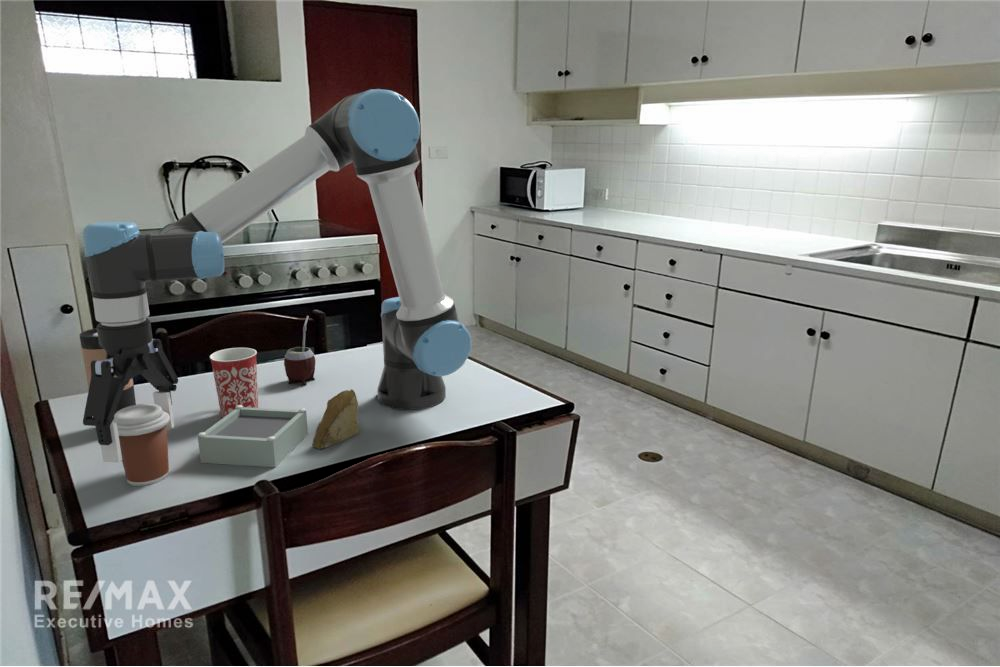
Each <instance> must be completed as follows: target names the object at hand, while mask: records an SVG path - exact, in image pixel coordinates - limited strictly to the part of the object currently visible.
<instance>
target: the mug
mask: <svg viewBox="0 0 1000 667" xmlns="http://www.w3.org/2000/svg"><path fill="white" fill-rule="evenodd" d="M257 355H258V352H257V350H256V349H254V348H250V347H231V348H224V349H220V350H216V351H215V352H213V353H212V354H210V355H209V360H210V362H211V367H212V372H213V379H214V383H215V384H214V385H215V390H216V394H217V399H218V404H219V410H220V416H221V419H223V418H224V417H225V416H227V415H228V414H229V413H231V412H232V411H233V410H235V409H236V406H237V405H242V407H248V408H259V400H258V399H259V397H258V396H259V395H258V372H257V370H258V368H257V367H258V366H257Z"/></svg>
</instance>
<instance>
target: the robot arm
mask: <svg viewBox="0 0 1000 667" xmlns="http://www.w3.org/2000/svg"><path fill="white" fill-rule="evenodd" d="M420 135H421V125H420V119H419V116H418V113H417V111H416V109H415V107H414V106H413V105H412V103H411V102H410V101H409V100H408V99H407V98H406V97H405V96H403V95H401V94H399V93H398V92H396V91H393V90H389V89H381V88H375V89H372V88H371V89H368V90H365V91H362V92H359V93H353V94H350V95H348V96H345V97H344V98H343V99H341V100H340V101H338V102H337V103H336V104H335V105H334V106H333V107H331V108H330V109H329V110H328V111H326V112H325V113H324V114H323V115H322V116H321V117H319V118H318V119H317V120H315V121H314V122H313V123H311V124H309V125H308V126H306V127H305V132H304V135H303V136H302V137H300V138H299V139H298V140H296V141H294V142H293V143H291V144H290V145H288V146H287V147H286V148H284V149H282V150H281V151H280V152H278V153H277V154H275V155H273V156H272V157H270V158H269V159H268V160H266V161H265V162H263V163H261V164H260V165H258V166H257V167H256V168H254V169H252V170H251V171H250V172H248V173H246V174H245V175H244V176H242V177H240V178H239V179H238V180H236V181H234V182H233V183H232V184H230V185H229V186H227V187H226V188H223V190H221V191H220V192H218V193H216V194H215V195H213V196H212V197H210V198H209V199H207V200H206V201H205V202H203V203H201V204H200V205H199V206H197V207H195V208H194V209H192V210H191V212H188V213H187V214H185V215H184V216H182V217H181V218H179V219H177V220H176V221H175V222H171V223H168V224H166V225H165V226H163V227H162V228H161V229H160V230H159V232H158V233H155V234H153V233H152V234H150V233H147V234H145V233H141V232H140V230H139V228H138V225H137V224H136V223H135V222H133V221H99V222H93V223H89V224H87V225H86V226H85V227H84V228H83V230H82V238H83V245H84V246H83V247H84V259H85V262H86V263H85V264H86V270H87V276H88V282H89V286H90V291H91V296H92V302H93V308H94V309H93V310H94V317H95V318H94V319H95V321H96V322H99V323H98V324H97V325H96V328H97V333H98V340H99V345H100V346H101V347H102V348H104V349H105V350H106V359H105V360H102V361H95V360H93V361H92V362H91V381H90V386H89V389H88V392H87V396H86V397H87V398H86V402H85V408H84V413H83V417H82V418H83V420H82V424H83V425H84V426H89V427H95V430H96V436H97V443H98V444H99V445H100V449H101V456H102V461H103V462H104V463H105V462H106V463H116V464H117V463H118V464H120V463H122V455H121V448H120V442H119V435H118V429H117V423H116V422H112V420H113V418H114V415H115V412H116V409H117V406H118V403H119V401H120V398H121V395H122V392H123V389H124V386H125V385H127V384H128V383H129V381H130V379H132V378H135V377H136V376H137V375H141V376H142V377H143V378H144V379H145V380H146V381H147V382H148V383H149V384H150V385H151V386H152V387H153V388H154V389H155V390H157V391H154V392H152V395H153V404H156V405H159V406H161V408H162V411H164V412H166V413H168V414H169V416H170V422H169V424H168V425H167V429H174V427H175V421H174V415H173V413H174V412H173V400H172V392H175V391H177V384H178V383H179V378H178V376H177V374H176V371H174V368H173V366H172V365H171V363H170V361H169V359H168V357H167V355H166V354H165V351H164V349H163V344H162V340H161V339H159V338H153V332H152V324H151V320H149V318H148V317H149V316H150V309H149V308H150V307H149V306H150V305H149V301H148V299H149V298H148V295H147V294H148V293H147V288H146V282H151V283H152V282H161V281H177V280H178V281H179V280H194V279H201V280H205V279H206V278H214V277H216V278H217V277H220V276H222V275H223V274H224V273H225V255H224V254H225V253H224V246H223V243H225V242H226V241H228V240H230V239H231V238H233V237H234V236H235V235H237V234H239V233H240V232H241V231H243V230H244V229H246V228H247V227H248V226H251V225H252V224H253V223H254V222H256V221H257V220H259V219H261V218H262V217H264V216H265V215H266V214H268V213H269V212H270V211H272V210H273V209H275V208H276V207H278V206H279V205H280V204H282V203H284V202H285V201H287V200H288V199H289V198H291V197H292V196H294V195H296V194H297V193H298V192H300V191H302V190H303V189H305V187H307V186H309V185H310V184H312V183H313V182H314V181H316V180H317V179H318V178H320V177H322V176H323V175H325V174H326V173H327V172H329V171H333V172H339V171H340V170H342V169H343V168H345V167H346V166H348V165H350V164H353V166H354V170H355V174H356V176H357V178H359V179H360V180H363V181H364V182H366V183H367V186H368V189H369V193H370V195H371V196H370V197H371V200H372V204H373V207H374V210H375V211H374V212H375V214H376V218H377V221H378V222H377V223H378V225H379V228H380V232H381V235H382V240H383V243H384V246H385V250H386V254H387V255H386V256H387V258H388V261H389V265H390V268H391V272H392V275H393V280H394V283H395V287H396V290H397V294H398V296H396V297H391V298H387V299H384V300H383V301H382V303H381V312H380V317H381V328H382V329H381V330H382V347H383V348H382V350H383V369H382V372H381V376H380V378H379V382H378V387H377V390H376V391H377V400H378V403H379V404H381V405H383V406H385V407H387V408H391V409H395V410H396V409H397V410H420V409H425V408H429V407H434V406H436V405H439V404H441V402H443V401H444V400H445V399H446V390H447V388H446V384H445V382H444V379H443V377H445V376H450V375H451V374H453V373H456V372H457V371H458V370H460V369H461V368H462V367H463V366H464V364H465V363H466V361H467V359H468V358H469V357H470V354H471V351H472V345H473V344H472V337H471V334H470V332H469V330H468V329H467V328H466V326H465V325H464V324H463V323H462V322H460V321H459V316H458V313H457V308H456V304H455V302H454V299H453V297H452V298H451V297H450V296H448V295H447V294H445V293H444V292H445V291H444V290H443V289H444V288H443V285H442V280H441V276H440V272H439V269H438V265H437V260H436V256H435V253H434V248H433V244H432V241H431V240H432V239H431V236H430V233H429V232H430V231H429V229H428V223H427V220H426V215H425V212H424V208H423V205H422V200H421V195H420V192H419V188H418V184H417V180H416V175H415V171H416V170H417V167H418V166H419V164H420V162H421V161H420V158H419V153H418V149H417V144H418V141H419V139H420ZM114 375H116V376H117V377H118V378H117V377H114ZM104 415H106V416H105V417H104Z"/></svg>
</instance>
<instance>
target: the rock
mask: <svg viewBox="0 0 1000 667" xmlns="http://www.w3.org/2000/svg"><path fill="white" fill-rule="evenodd" d="M358 404H359V403H358V398H357V395H356V392H355V391H354V389H350V390H347V389H346V390H343V391H340V392H339V393H337V394H336V395H334V396H333V397H332V398H330V399H328V401H327V403H326V408H325V410H324V413H323V416H322V419H321V421H320V422H318V423H319V424H318V425H317V427H316V429H315V430H316V431H315V435H314V437H313V440H312V444H311V445H312V447H314V448H316V449H318V450H322V449H325V448H326V447H329V446H333V445H335V444H336V443H338V442H341V441H344V440H346V439H347V440H348V439H349V438H351V437H352V436H355V435H357V434H359V433H360V431H359V430H360V429H359V421H358V411H359V410H358V409H359V408H358V407H359V405H358Z"/></svg>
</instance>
